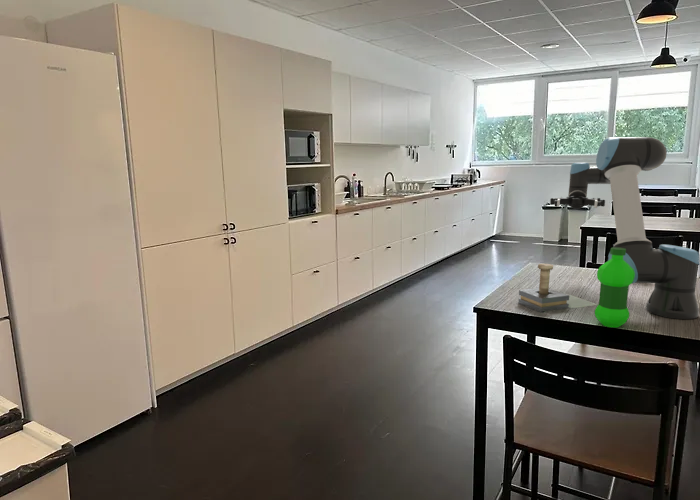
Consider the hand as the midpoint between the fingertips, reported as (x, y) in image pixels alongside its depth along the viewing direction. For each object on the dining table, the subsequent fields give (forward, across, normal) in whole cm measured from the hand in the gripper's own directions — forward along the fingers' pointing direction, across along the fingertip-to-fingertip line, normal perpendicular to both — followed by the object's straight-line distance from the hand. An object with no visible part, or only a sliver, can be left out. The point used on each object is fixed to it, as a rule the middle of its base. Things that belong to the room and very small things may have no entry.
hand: (576, 203), depth 191 cm
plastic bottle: (+40, -13, -35) cm, 55 cm away
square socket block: (+28, +8, -35) cm, 45 cm away
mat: (+19, -1, -35) cm, 40 cm away
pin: (+28, +9, -35) cm, 45 cm away
